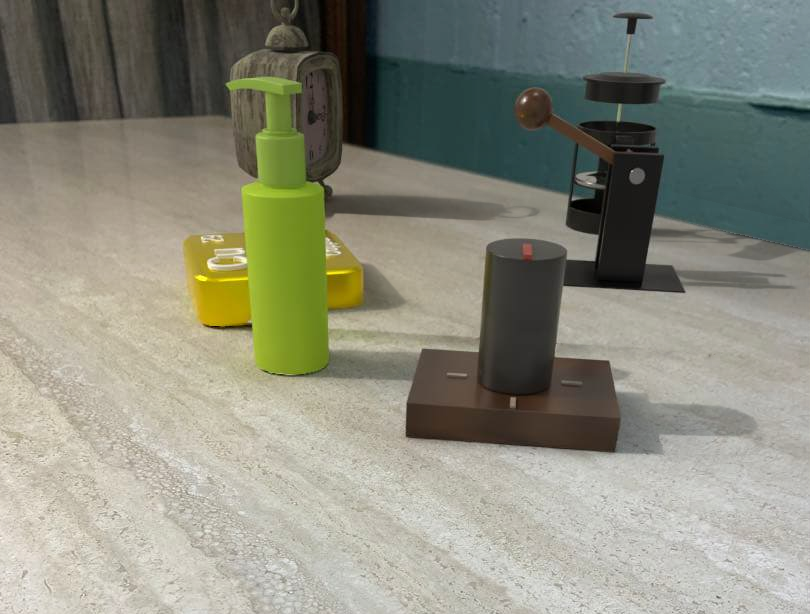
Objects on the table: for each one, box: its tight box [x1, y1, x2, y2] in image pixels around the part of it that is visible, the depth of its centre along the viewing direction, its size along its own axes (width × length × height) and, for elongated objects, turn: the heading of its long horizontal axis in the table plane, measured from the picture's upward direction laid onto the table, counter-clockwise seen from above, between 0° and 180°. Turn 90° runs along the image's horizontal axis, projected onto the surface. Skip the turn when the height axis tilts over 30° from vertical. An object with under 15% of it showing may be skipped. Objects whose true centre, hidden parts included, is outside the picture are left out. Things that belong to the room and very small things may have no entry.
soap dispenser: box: [225, 77, 330, 375], centre depth 64 cm, size 6×7×20 cm
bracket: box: [563, 144, 686, 294], centre depth 84 cm, size 12×9×13 cm
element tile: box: [182, 228, 364, 328], centre depth 81 cm, size 15×15×5 cm
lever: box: [513, 86, 633, 165], centre depth 81 cm, size 14×4×4 cm, turn 83°
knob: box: [477, 237, 568, 394], centre depth 58 cm, size 5×5×9 cm
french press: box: [565, 12, 667, 236], centre depth 98 cm, size 12×9×23 cm
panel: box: [405, 347, 622, 453], centre depth 61 cm, size 14×10×3 cm
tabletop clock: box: [229, 0, 344, 199], centre depth 108 cm, size 14×9×25 cm, turn 161°
